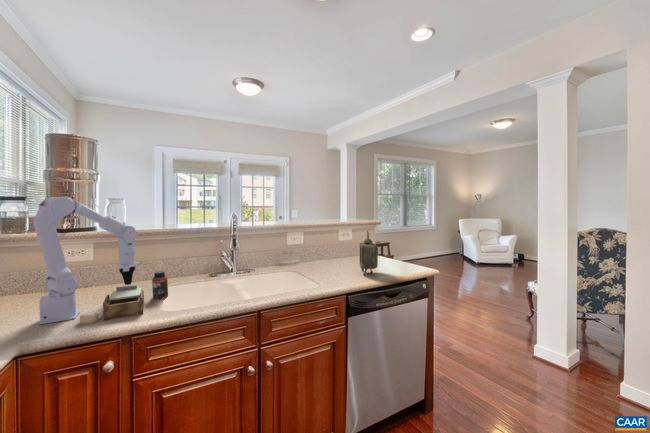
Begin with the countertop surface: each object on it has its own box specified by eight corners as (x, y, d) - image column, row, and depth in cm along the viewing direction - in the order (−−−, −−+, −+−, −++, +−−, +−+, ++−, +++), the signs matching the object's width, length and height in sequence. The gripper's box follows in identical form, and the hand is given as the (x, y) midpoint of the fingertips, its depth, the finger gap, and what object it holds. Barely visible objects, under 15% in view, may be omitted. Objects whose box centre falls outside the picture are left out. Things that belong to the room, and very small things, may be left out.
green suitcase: (359, 270, 177) (359, 229, 176) (374, 270, 177) (374, 230, 176) (361, 276, 163) (361, 232, 162) (377, 276, 163) (378, 232, 161)
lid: (108, 300, 109) (108, 295, 109) (112, 292, 118) (112, 287, 118) (140, 296, 114) (139, 291, 114) (141, 289, 123) (141, 284, 123)
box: (103, 320, 103) (102, 303, 103) (107, 310, 113) (107, 294, 112) (143, 313, 109) (142, 297, 109) (144, 304, 119) (143, 289, 118)
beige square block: (78, 325, 99) (78, 318, 99) (81, 320, 103) (81, 313, 103) (96, 322, 102) (96, 315, 101) (99, 317, 106) (98, 310, 106)
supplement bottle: (164, 294, 133) (164, 269, 132) (170, 296, 129) (169, 271, 128) (150, 297, 128) (149, 272, 127) (155, 300, 124) (155, 274, 124)
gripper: (137, 255, 120) (138, 287, 121) (138, 249, 133) (139, 279, 134) (116, 256, 117) (117, 289, 118) (120, 251, 129) (121, 281, 130)
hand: (128, 284), depth 125 cm, fingers closed
